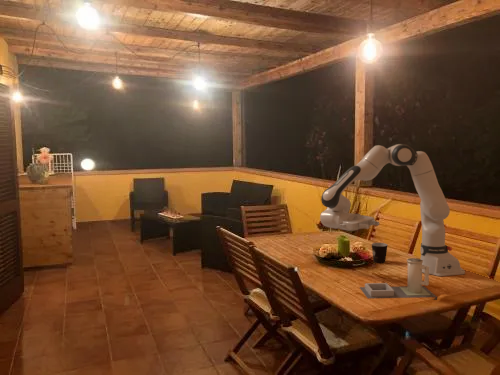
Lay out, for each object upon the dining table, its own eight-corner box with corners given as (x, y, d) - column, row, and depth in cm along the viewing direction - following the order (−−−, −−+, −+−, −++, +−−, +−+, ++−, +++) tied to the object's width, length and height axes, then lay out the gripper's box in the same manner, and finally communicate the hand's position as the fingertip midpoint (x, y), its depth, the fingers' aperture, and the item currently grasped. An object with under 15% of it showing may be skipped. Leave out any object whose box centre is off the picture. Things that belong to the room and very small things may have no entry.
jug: (404, 291, 190) (404, 260, 189) (410, 287, 195) (410, 257, 193) (424, 295, 184) (424, 264, 182) (431, 291, 188) (431, 260, 187)
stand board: (424, 288, 197) (424, 280, 197) (437, 299, 183) (437, 291, 183) (359, 289, 197) (359, 282, 197) (367, 301, 183) (367, 292, 183)
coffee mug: (388, 264, 236) (388, 246, 235) (372, 263, 238) (372, 246, 237) (385, 258, 248) (386, 241, 247) (370, 257, 249) (370, 241, 248)
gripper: (337, 218, 208) (362, 221, 198) (359, 213, 222) (383, 215, 212) (337, 231, 208) (362, 235, 198) (359, 224, 223) (383, 228, 213)
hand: (373, 225), depth 205 cm, fingers open, 8 cm apart
